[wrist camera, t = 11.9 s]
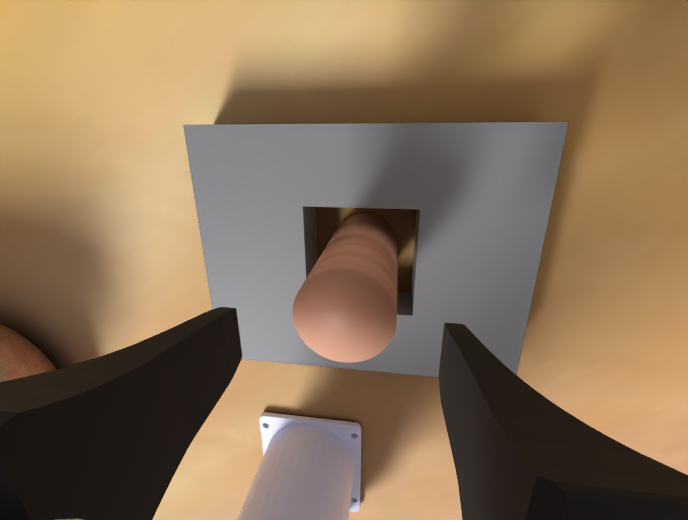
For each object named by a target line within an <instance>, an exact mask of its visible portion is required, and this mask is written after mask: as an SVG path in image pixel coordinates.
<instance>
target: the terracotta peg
mask: <svg viewBox="0 0 688 520" xmlns="http://www.w3.org/2000/svg"><path fill="white" fill-rule="evenodd" d="M397 274H398V240H397V236H396V233H395V231H394V229H393V228H392V226H391V225H390V224H389V223H388V222H387V221H386V220H385V219H383V218H381V217H380V216H377V215H374V214H370V213H360V214H356V215H353V216H350V217H349V218H347V219H345V220H344V221H343V222H342V223H341V224H340V225H339V227H338V228H337V230H336V231H335V233H334V235H333V236H332V238H331V240H330V241H329V243H328V244H327V246H326V248H325V249H324V251H323V252H322V254H321V256H320V257H319V259H318V261H317V262H316V264H315V265H314V267H313V269H312V270H311V272H310V273H309V275H308V277H307V278H306V280H305V282H304V283H303V285H302V286H301V288H300V290H299V291H298V293H297V295H296V297H295V300H294V303H293V321H294V325H295V328H296V330H297V333H298V334H299V336H300V338H301V339H302V340H303V341H304V343H305V344H306V345H307V346H308V347H309V348H310V349H312V350H313V351H314V352H316V353H317V354H319V355H321V356H323V357H325V358H327V359H330V360H333V361H337V362H346V363H352V362H360V361H364V360H367V359H370V358H372V357H374V356H376V355H378V354H379V353H380V352H382V351H383V350H384V349H385V348H386V347H387V346H388V345H389V343H390V342H391V340H392V338H393V336H394V333H395V330H396V324H397Z"/></svg>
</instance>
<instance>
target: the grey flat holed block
mask: <svg viewBox="0 0 688 520" xmlns="http://www.w3.org/2000/svg"><path fill="white" fill-rule="evenodd" d="M568 123H569V122H481V123H352V124H223V125H183V126H184V133H185V139H186V146H187V152H188V158H189V165H190V171H191V177H192V184H193V190H194V197H195V203H196V209H197V216H198V222H199V228H200V235H201V241H202V247H203V254H204V260H205V267H206V273H207V279H208V286H209V292H210V298H211V305H212V310H213V309H215V308H218V307H229V308H236V310H237V318H238V326H239V333H240V341H241V349H242V359H244V360H255V361H266V362H277V363H287V364H298V365H309V366H320V367H331V368H342V369H353V370H364V371H375V372H386V373H397V374H407V375H418V376H429V377H439V366H440V357H441V348H442V339H443V330H444V323H457V324H464V325H465V326H466V327H467V328H468V329H469V330H470V331H471V332H472V333H473V334H474V335H475V336H476V337H477V338H478V339H479V340H480V341H481V343H482V344H483V345H484V346H485V347H486V348H487V349H488V350H489V351H490V352H491V353H492V354H493V355H494V356H496V357H497V358H498V359H499V360H500V361H501V362H502V363H503V364H504V365H505V366H506V367H507V368H509V369H510V370H511V371H512V372H513V373H514V374H517V370H518V365H519V360H520V355H521V350H522V345H523V341H524V336H525V331H526V326H527V321H528V316H529V312H530V307H531V302H532V297H533V292H534V287H535V283H536V278H537V273H538V268H539V263H540V258H541V253H542V249H543V244H544V239H545V234H546V229H547V224H548V220H549V215H550V210H551V205H552V200H553V195H554V191H555V186H556V181H557V176H558V171H559V166H560V162H561V157H562V152H563V147H564V142H565V137H566V132H567V128H568ZM316 207H344V208H382V209H417V212H416V227H415V241H414V256H413V270H412V285H411V292H398V291H397V324H396V330H395V333H394V336H393V338H392V340H391V342H390V343H389V345H388V346H387V347H386V348H385V349H384V350H383V351H382V352H380V353H379V354H378V355H376V356H374V357H372V358H370V359H367V360H364V361H360V362H352V363H346V362H337V361H333V360H330V359H327V358H325V357H323V356H321V355H319V354H317V353H316V352H314V351H313V350H312V349H310V348H309V347H308V346H307V345H306V344H305V343H304V341H303V340H302V339H301V338H300V336H299V334H298V333H297V330H296V328H295V325H294V321H293V303H294V300H295V297H296V295H297V293H298V291H299V290H300V288H301V286H302V285H303V283H304V282H305V280H306V278H307V277H308V275H309V273H310V272H311V270H312V269H313V267H314V265H315V264H316V262H317V261H318V251H317V222H316Z"/></svg>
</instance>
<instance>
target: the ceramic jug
mask: <svg viewBox="0 0 688 520" xmlns="http://www.w3.org/2000/svg"><path fill="white" fill-rule="evenodd" d="M52 370H56V368H55V366H54V365H53V364H52V363H51V361H50V360H49V359H48V358H47V357H46V356H45V355H44V354H43V353H42V352H41V351H40V350H39V349H38V348H37V347H36V346H35V345H34V344H32V343H31V342H30V341H29V340H27V339H26V338H25V337H23V336H22V335H20V334H19V333H17V332H15V331H14V330H12V329H10V328H8V327H6V326H4V325H2V324H0V382H2V381H7V380H12V379H17V378H22V377H26V376H31V375H36V374H40V373H44V372H48V371H52Z"/></svg>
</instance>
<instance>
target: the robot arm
mask: <svg viewBox="0 0 688 520" xmlns="http://www.w3.org/2000/svg"><path fill="white" fill-rule="evenodd" d="M241 359H242V349H241V341H240V333H239V326H238V318H237V310H236V308H229V307H218V308H215V309H213V310H210V311H208V312H205V313H203V314H201V315H199V316H197V317H194V318H192V319H190V320H188V321H186V322H184V323H182V324H180V325H177V326H175V327H173V328H171V329H169V330H167V331H164V332H162V333H160V334H157V335H155V336H153V337H151V338H148V339H146V340H144V341H141V342H139V343H137V344H134V345H132V346H129V347H126V348H124V349H121V350H118V351H115V352H112V353H110V354H107V355H104V356H101V357H98V358H95V359H91V360H88V361H84V362H81V363H77V364H74V365H71V366H67V367H64V368H60V369H56V370H52V371H48V372H44V373H40V374H36V375H31V376H26V377H22V378H17V379H12V380H7V381H2V382H0V520H152V519H153V517H154V515H155V512H156V510H157V508H158V506H159V504H160V502H161V500H162V498H163V496H164V494H165V492H166V490H167V488H168V486H169V484H170V482H171V479H172V477H173V476H174V474H175V472H176V470H177V468H178V466H179V464H180V462H181V460H182V458H183V456H184V454H185V453H186V451H187V449H188V447H189V445H190V444H191V442H192V440H193V439H194V437H195V435H196V434H197V432H198V431H199V429H200V428H201V426H202V425H203V423H204V422H205V420H206V419H207V417H208V416H209V414H210V413H211V411H212V410H213V408H214V407H215V405H216V404H217V402H218V401H219V399H220V397H221V396H222V394H223V393H224V391H225V390H226V388H227V387H228V385H229V383H230V382H231V380H232V378H233V376H234V374H235V372H236V370H237V368H238V365H239V363H240V361H241ZM439 385H440V396H441V404H442V409H443V413H444V418H445V423H446V427H447V432H448V436H449V441H450V445H451V450H452V454H453V459H454V463H455V468H456V473H457V479H458V485H459V493H460V501H461V510H462V518H463V520H688V475H686V474H684V473H682V472H679V471H677V470H675V469H673V468H671V467H669V466H666V465H664V464H662V463H660V462H658V461H655V460H653V459H651V458H649V457H647V456H645V455H642V454H640V453H638V452H636V451H634V450H633V449H631V448H629V447H627V446H625V445H623V444H621V443H619V442H617V441H615V440H614V439H612V438H610V437H608V436H606V435H604V434H602V433H601V432H599V431H597V430H595V429H594V428H592V427H590V426H588V425H587V424H585V423H583V422H582V421H580V420H579V419H577V418H575V417H574V416H572V415H571V414H569V413H567V412H566V411H564V410H563V409H561V408H560V407H558V406H557V405H555V404H554V403H552V402H551V401H549V400H548V399H547V398H545V397H544V396H542V395H541V394H540V393H538V392H537V391H536V390H534V389H533V388H532V387H530V386H529V385H528V384H526V383H525V382H524V381H523V380H521V379H520V378H519V377H518V376H517V375H516V374H514V373H513V372H512V371H511V370H510V369H509V368H507V367H506V366H505V365H504V364H503V363H502V362H501V361H500V360H499V359H498V358H497V357H496V356H494V355H493V354H492V353H491V352H490V351H489V350H488V349H487V348H486V347H485V346H484V345H483V344H482V343H481V341H480V340H479V339H478V338H477V337H476V336H475V335H474V334H473V333H472V332H471V331H470V330H469V329H468V328H467V327H466V326H465V325H464V324H457V323H444V330H443V339H442V348H441V357H440V366H439ZM259 422H260V430H261V439H262V447H263V458H262V461H261V463H260V466H259V468H258V470H257V473H256V475H255V478H254V480H253V482H252V485H251V487H250V490H249V492H248V495H247V497H246V499H245V502H244V504H243V507H242V509H241V511H240V514H239V516H238V519H237V520H348V518H349V511H350V512H358V511H359V510H360V487H361V426H360V424H358V423H356V422H347V421H338V420H330V419H321V418H312V417H303V416H294V415H285V414H276V413H268V412H264V413H262V414H261V416H260V418H259ZM266 423H267V424H266ZM355 434H356V435H355Z"/></svg>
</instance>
